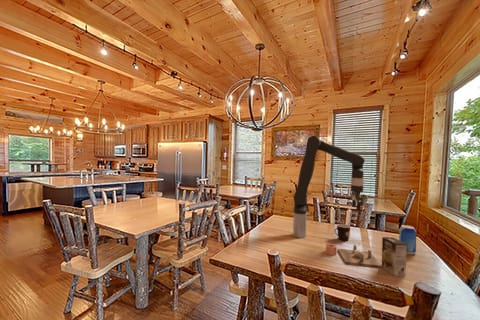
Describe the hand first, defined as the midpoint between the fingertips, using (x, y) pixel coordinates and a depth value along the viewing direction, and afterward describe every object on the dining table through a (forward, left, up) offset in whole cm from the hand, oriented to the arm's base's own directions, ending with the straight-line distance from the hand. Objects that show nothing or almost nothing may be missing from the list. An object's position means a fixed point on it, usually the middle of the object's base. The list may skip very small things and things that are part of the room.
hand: (356, 208), depth 145 cm
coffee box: (+8, -34, -25) cm, 43 cm away
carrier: (-5, -23, -25) cm, 34 cm away
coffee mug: (-7, +7, -25) cm, 27 cm away
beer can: (+29, -5, -25) cm, 38 cm away
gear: (-19, -19, -25) cm, 36 cm away
